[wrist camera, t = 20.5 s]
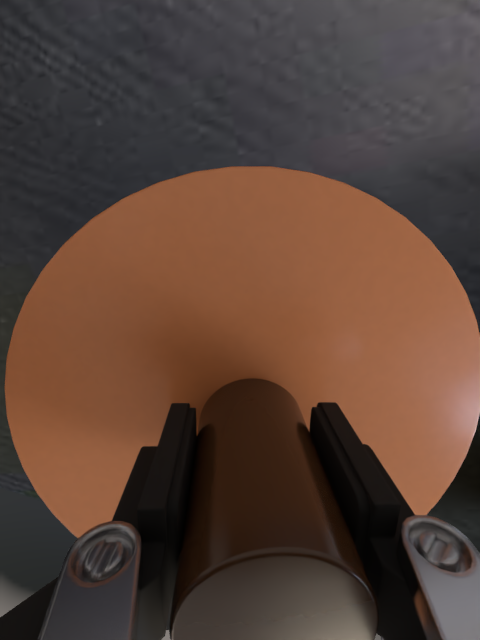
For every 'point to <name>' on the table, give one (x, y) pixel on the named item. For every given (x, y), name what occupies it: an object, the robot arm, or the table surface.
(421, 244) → the pan lid
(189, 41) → the table surface
